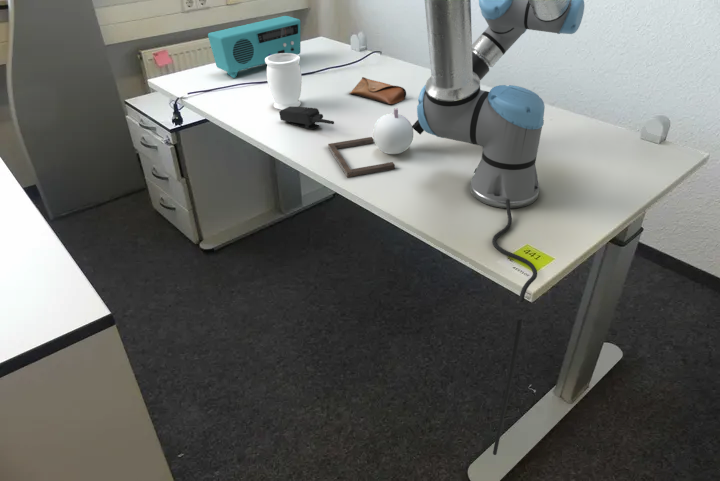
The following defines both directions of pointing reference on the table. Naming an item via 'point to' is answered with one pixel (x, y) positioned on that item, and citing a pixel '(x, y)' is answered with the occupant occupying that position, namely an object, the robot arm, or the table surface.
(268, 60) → the jar
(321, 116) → the walkie-talkie
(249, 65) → the radio
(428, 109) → the robot arm
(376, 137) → the ornament
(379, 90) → the sunglasses case
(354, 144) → the bay
